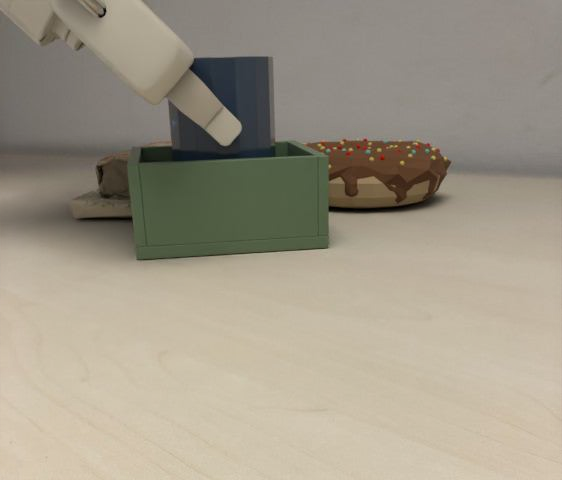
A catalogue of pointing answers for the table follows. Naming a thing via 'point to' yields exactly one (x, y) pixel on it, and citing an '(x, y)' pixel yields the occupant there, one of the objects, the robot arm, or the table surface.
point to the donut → (381, 172)
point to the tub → (228, 202)
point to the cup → (230, 110)
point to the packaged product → (108, 189)
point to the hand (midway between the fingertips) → (231, 132)
